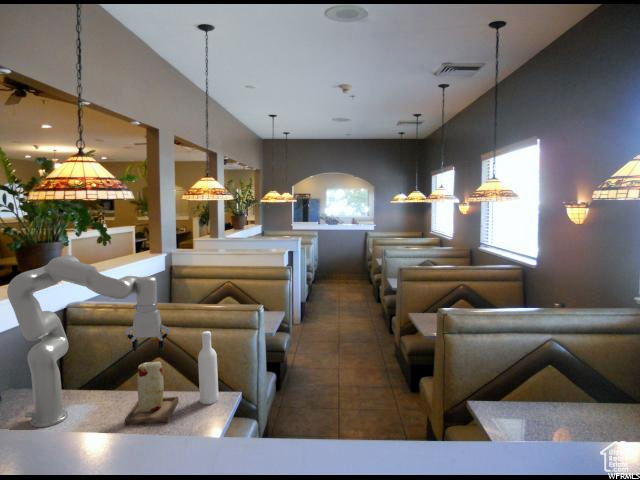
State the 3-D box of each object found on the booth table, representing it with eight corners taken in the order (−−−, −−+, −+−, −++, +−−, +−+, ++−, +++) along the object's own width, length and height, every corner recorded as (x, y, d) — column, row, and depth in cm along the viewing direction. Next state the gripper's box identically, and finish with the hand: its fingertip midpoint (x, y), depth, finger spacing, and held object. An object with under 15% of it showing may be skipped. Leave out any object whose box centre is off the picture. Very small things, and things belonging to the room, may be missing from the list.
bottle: (200, 397, 192) (197, 330, 190) (219, 395, 194) (216, 328, 191) (198, 405, 184) (195, 335, 182) (218, 403, 186) (215, 334, 183)
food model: (140, 416, 173) (137, 367, 171) (137, 409, 178) (135, 361, 177) (166, 410, 178) (163, 361, 176) (162, 403, 183) (160, 357, 182)
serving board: (125, 425, 169) (124, 419, 168) (139, 404, 186) (139, 398, 186) (167, 423, 170) (167, 417, 170) (178, 402, 188) (178, 396, 188)
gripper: (121, 310, 170) (122, 353, 171) (167, 309, 172) (168, 352, 173) (127, 306, 177) (129, 347, 179) (171, 305, 179) (172, 346, 180)
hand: (148, 349), depth 176 cm, fingers open, 9 cm apart
